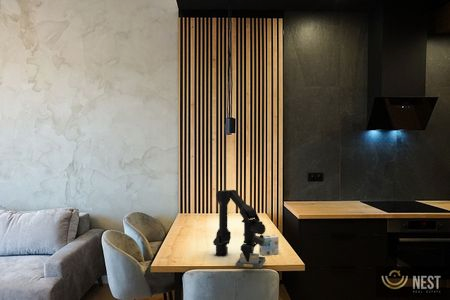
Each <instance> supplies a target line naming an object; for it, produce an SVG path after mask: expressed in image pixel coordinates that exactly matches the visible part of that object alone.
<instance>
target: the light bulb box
mask: <svg viewBox="0 0 450 300" xmlns="http://www.w3.org/2000/svg"><path fill="white" fill-rule="evenodd" d="M262 235H263V236H264V238H265V241H264V244H263V246H260V245H259V244H258V245H259V246H258V247H259V250H258V251H259V254H260V255H262V256H273V255H279V253H280V252H279V251H280V250H279V248H280V247H279V240H280V239H279V236H278V235H276V234H262Z"/></svg>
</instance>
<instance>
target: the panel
mask: <svg viewBox="0 0 450 300" xmlns="http://www.w3.org/2000/svg"><path fill="white" fill-rule="evenodd" d="M259 257H260V253H254V252H253V253H250V259H249V262H247V261H246V259H245V256H244V254H243V252H242V251H241V252H240V254H239V258H240V263H248V264H259Z"/></svg>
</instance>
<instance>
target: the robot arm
mask: <svg viewBox="0 0 450 300" xmlns="http://www.w3.org/2000/svg"><path fill="white" fill-rule="evenodd" d="M216 201H217V203H218V205H219V207H218V208H219V209H218V210H219V212H218V217H219V220H218V221H219V223H218V226H219V227H218V230H217V231H216V235H215V238H214V240H213V242H212V243H213V245H214V246H215V254H214V256H218V257H226V256H227V255H228V254H229V253H228V252H229V251H228V250H229V249H228V248H229V247H228V245H229V244H230V240H231V238H232V237H231V235H232V233H231V231H229V228H228V205H229V203H230V201H232V202H233V203H234V205H236V207H237V208H238V210H239V212H240V213H239V214H240V216H241V217H242V220H241V223H242V224H243V228H244V230H243V235H242V236H243V239H244V240H243V243H242V245H240V251H241V252H242V253H243V254H244V256H245V259H246V261H247V262H249V259H250V253H254V251H255V247H256V246H257V245H260V246H263V244H264V241H265V238H264V236H263V235H265V232H266V225H265V224H264V223H263V221H261V220H260V217H259V215H258V213H257V211H256V209H255V208H254V207H253V206H251V205H249V204H247V203H246V202H245V200H244V199H243V198H242V197H241V196H240V194H239V193H238V192H237V190H236V189H230V190H229V189H224V190H223V189H222V190H218V191H217V192H216Z"/></svg>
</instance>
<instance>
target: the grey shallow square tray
mask: <svg viewBox="0 0 450 300" xmlns="http://www.w3.org/2000/svg"><path fill="white" fill-rule="evenodd" d="M265 262H266V256H259V264H248V263H240V257H239V258H238V259H237V261H236V262H235V267H236V268H246V269H247V268H249V269H262V268H263V266H264V265H265V264H264V263H265Z"/></svg>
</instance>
